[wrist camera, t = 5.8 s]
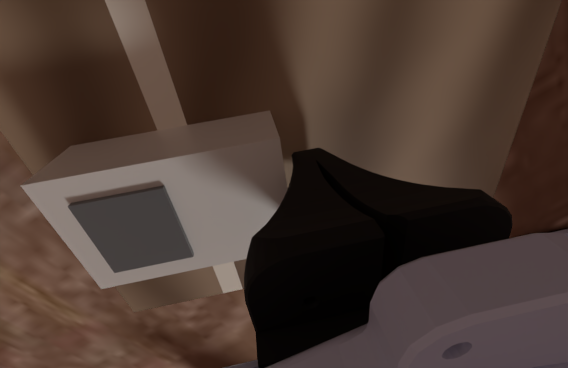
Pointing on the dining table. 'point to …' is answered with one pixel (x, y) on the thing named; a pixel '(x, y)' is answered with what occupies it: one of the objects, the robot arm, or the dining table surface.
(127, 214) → the block
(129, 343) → the dining table surface
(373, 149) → the subfloor panel
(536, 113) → the dining table surface
